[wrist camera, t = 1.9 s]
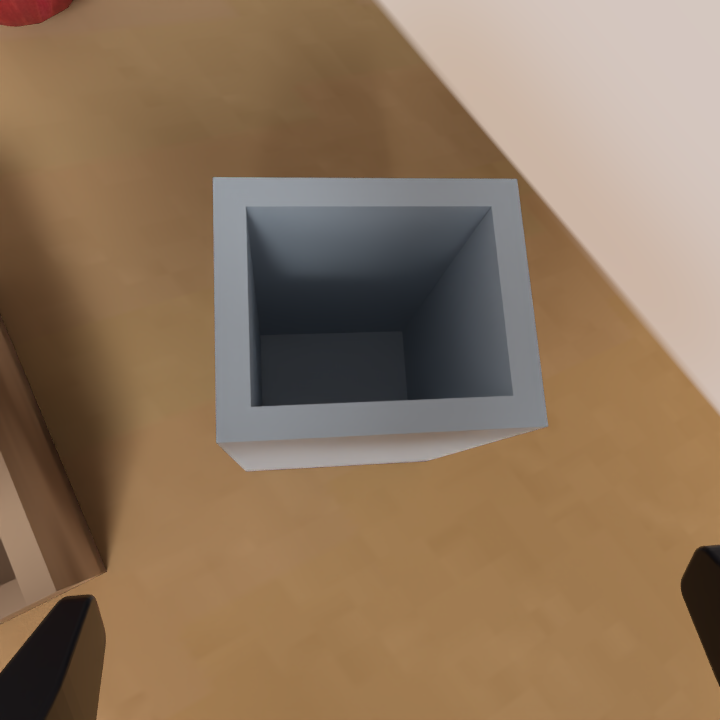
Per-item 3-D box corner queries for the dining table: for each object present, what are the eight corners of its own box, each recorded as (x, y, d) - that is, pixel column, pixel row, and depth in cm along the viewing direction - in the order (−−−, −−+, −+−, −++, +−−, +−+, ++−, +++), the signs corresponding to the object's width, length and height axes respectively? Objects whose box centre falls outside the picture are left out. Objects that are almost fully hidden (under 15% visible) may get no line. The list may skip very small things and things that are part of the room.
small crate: (426, 461, 21) (548, 426, 12) (246, 471, 21) (216, 443, 11) (414, 318, 22) (516, 178, 13) (242, 323, 22) (213, 177, 12)
